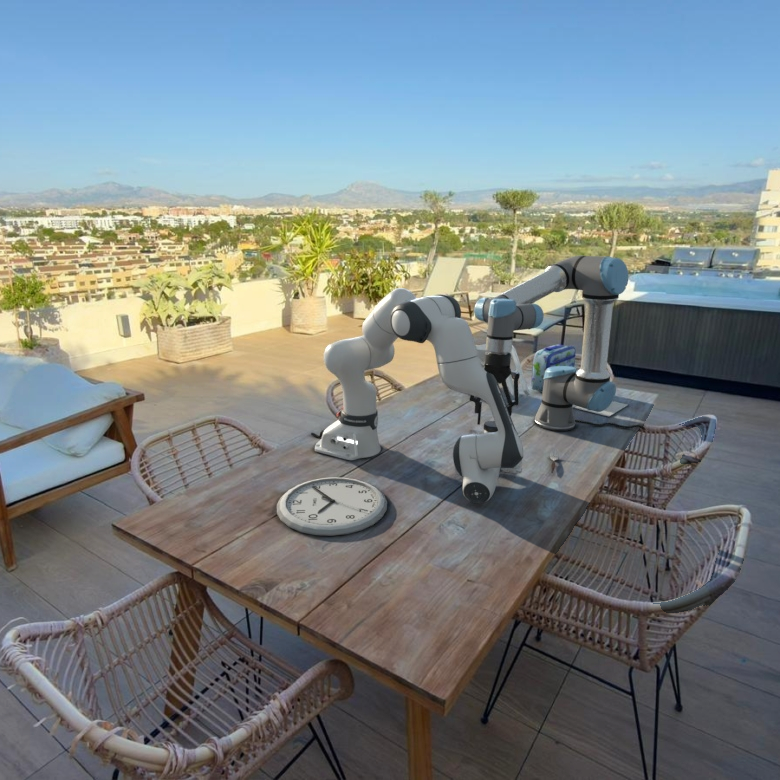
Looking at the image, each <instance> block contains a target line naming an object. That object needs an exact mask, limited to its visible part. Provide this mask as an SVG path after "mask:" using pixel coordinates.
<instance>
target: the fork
mask: <svg viewBox="0 0 780 780" xmlns="http://www.w3.org/2000/svg"><path fill="white" fill-rule="evenodd" d="M559 454H560V449H556V451H555V452H553V451H551V452H550V456H549V457H550V460H552V462H551V466H550V468H551V469H550V470H551V474H553V473H554V469H555V467H556V463H555V461H558V460H559Z"/></svg>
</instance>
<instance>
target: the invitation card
mask: <svg viewBox="0 0 780 780" xmlns="http://www.w3.org/2000/svg"><path fill="white" fill-rule="evenodd" d="M628 406H629V404H627V403H623V402H618V401H614V400H613V401H612V402H611V404H610V405H609V406H608V408H606V409H605V410H603V411H601V412H596V411H592V410H588V409H585V408H582V407H579V406H576V405H575V406H574V407H573V409H575V410H581V411H584V412H587V413H593V414H596V415H600V416H604V417H608V418H609V417H611V416H613V415H614V414H616V413H617V412H619V411H621V410H623V409H624V408H626V407H628Z"/></svg>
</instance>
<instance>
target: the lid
mask: <svg viewBox="0 0 780 780" xmlns="http://www.w3.org/2000/svg"><path fill="white" fill-rule="evenodd" d="M483 430H484V431H488V432H497V431H498V428H497V426H496V423H495V420H487V421H485V422H484V424H483Z"/></svg>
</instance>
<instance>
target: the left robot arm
mask: <svg viewBox="0 0 780 780" xmlns="http://www.w3.org/2000/svg"><path fill="white" fill-rule="evenodd" d="M361 326H362V327H361V329H362V330H361V331H362V335H360V336H356V337H350V338H345V339H340V340H337V341H334V342H332V343H330V344H328V345H327V346H326V347H325V349H324V352H323V355H322V357H323V363H324V366H325V368H326V370H328V371H329V372H330V373H331V374H332V375H334V376H335V378H337V380H338V381H339V383H340V386H341V391H342V407H341V408H340V410H338V412H337V413H336V414H335V415H336V418H338V419H337V420H335V421H334V422H332V423H331V424H330V425H328V426H327V427H326V428H325V429H322V430H321V431H320V432H319V434H317V433H315V432H311V433H310V435H311V436H312V437H315V438H317V439H319V440H317V442H316V444H315V445H314V452H316V453H320V454H322V455H323V454H324V455H328V456H331V457H335V458H339V459H342V460H346V461H355V460H359V459H366V458H371V457H374V456H377V455H378V454H379V453H380V452H381V451H382V448H381V447H382V446H381V445H380V440H379V434H378V424H379V414H378V413H379V412H378V409H377V402H378V401H377V394H378V393H377V388H376V387H375V385H374V384H373V383H371V382H370V381H368V380H366V377H365V371H369V370H374V369H379V368H381V367H384V366H386V365H388V364H390V363H391V362H392V361H393V359H394V357H395V351H396V349H395V346H394V343H395V342H396V341H397V339H400V340H403V341H408V342H415V343H418V344H424V343H425V342H426V341H428V342H429V343H430V344H431V346H433V349H434V352H435V359H436V365H437V370H438V373H439V376H440V381H442V383H443V384H444V385H445V386H446V387H447V388H449V389H450V390H452V391H455V392H457V393H460V394H465V395H469V396H470V395H473V396H474V397H476V398H477V397H479V398H481V400H483V401H484V402H485V403H486V404H487V405H488V407H489V410H490V412H491V415H492V417H493V421H495V423H496V426H497V428H498V431H497V432H491V433H484V432H483V433H482V432H481V433H472V434H471V433H470V434H464V435H461V436H459V438H457V440H456V442H455V443H454V446H453V449H452V460H453V465H454V472H455V474H456V475H457V476H460V477H462V495H463V496H464V498H465V499H466V500H467V501H469V502H471V503H473V504H484V503H486V502H488V501H489V500H490V499H491V498H492V497H493V495H494V493H495V490H496V488H497V484H498V480H499V476H500V475H501V474H502V475H507V476H517V475H518V474H521V473H522V471H523V468H522V466H523V459H524V445H523V442H522V440H521V438H520V435H519V434H518V432H517V429H516V427H515V424H514V421H513V419H512V415H511V416H510V414H509V411H508V408H507V405H506V404H507V402H506V400H505V397H504V395H503V392H502V390H501V388H500V385H499V383H497V381H496V379H495V377H494V376H493V374H491V373H488V372H486V371H485V370H484V368H483V367H482V365H481V364H480V361H479V358H478V353H477V349H476V346H477V345H476V341H475V338H474V335H473V332H472V329H471V327H470V325H469V323H468V322H467V320H465V319H464V318H462V309H461V305H460V303H459V302H458V300H457V299H456V298H455V297H453V296H451V295H449V294H448V295H447V294H434V295H426V296H421V297H419V298H417V297H416V296H415V294H414V293H413V292H412V291H410V290H409V289H407V288H405V287H404V288H403V287H398V288H395V289H393V290H391V291H390V292H389V293H387V294H386V295H385V296H384V297H383V298H382V299H381V300H380V301H379V302H378V303H377V304H376V305H375V307H374V308H373V309H372V310H371V312H370V313H369V314H368V315H367V317H366V318H365V320H364V321H363V323H362V325H361Z"/></svg>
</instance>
